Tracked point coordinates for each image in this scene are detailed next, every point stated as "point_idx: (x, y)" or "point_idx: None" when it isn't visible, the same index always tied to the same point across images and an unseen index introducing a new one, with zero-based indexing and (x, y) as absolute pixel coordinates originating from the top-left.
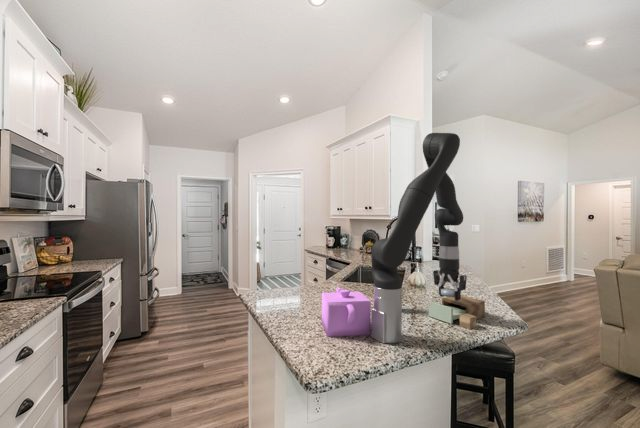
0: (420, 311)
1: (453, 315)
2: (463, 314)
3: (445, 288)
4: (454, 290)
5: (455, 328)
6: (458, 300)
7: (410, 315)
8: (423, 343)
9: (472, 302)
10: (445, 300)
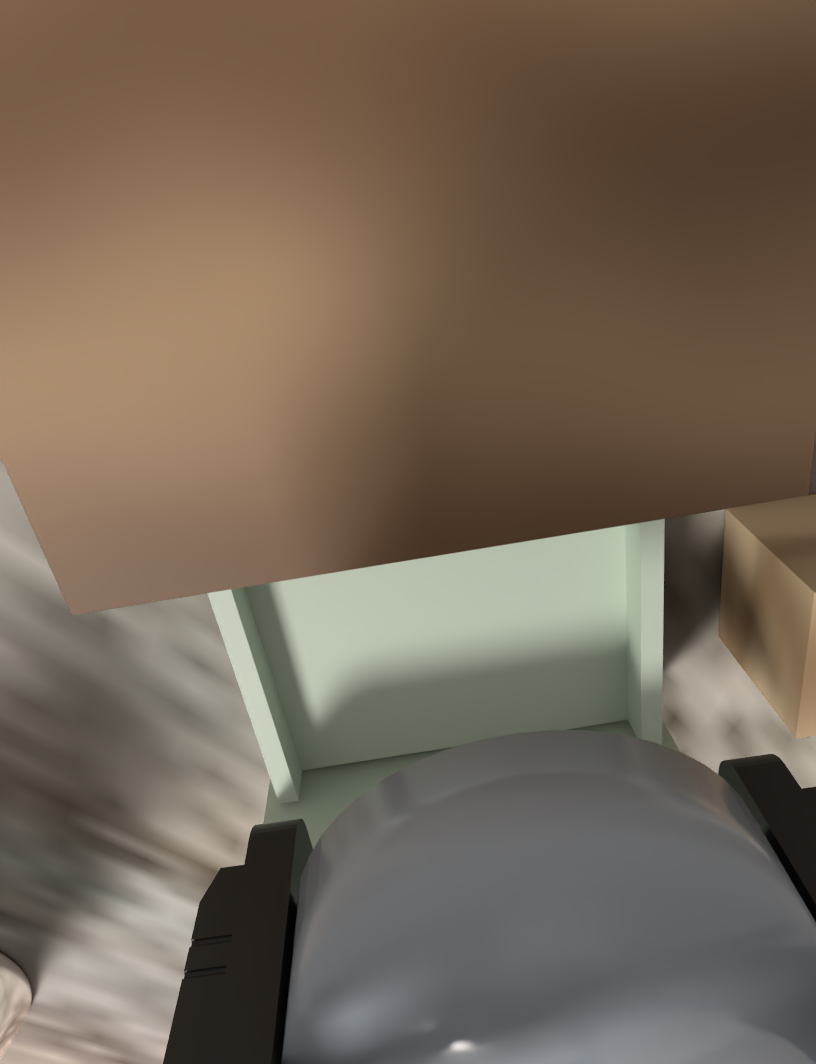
0: (45, 721)
1: (657, 717)
2: (813, 666)
3: (323, 1052)
4: (699, 992)
5: (739, 731)
6: (382, 349)
7: (186, 895)
8: None
9: (737, 79)
10: (182, 578)
